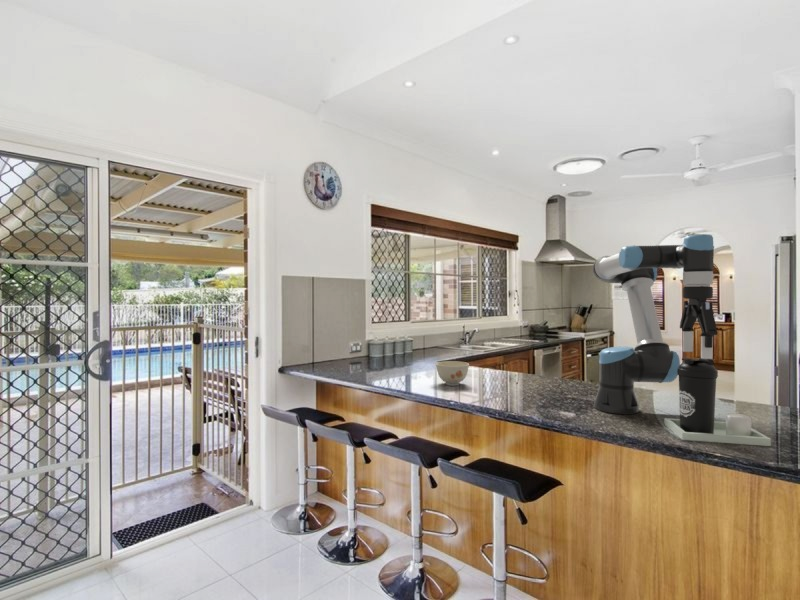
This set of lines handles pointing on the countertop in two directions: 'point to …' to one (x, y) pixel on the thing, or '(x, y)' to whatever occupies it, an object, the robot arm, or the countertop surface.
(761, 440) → the tray
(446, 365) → the bowl
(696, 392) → the water bottle
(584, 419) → the countertop surface
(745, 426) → the white domed cylinder
